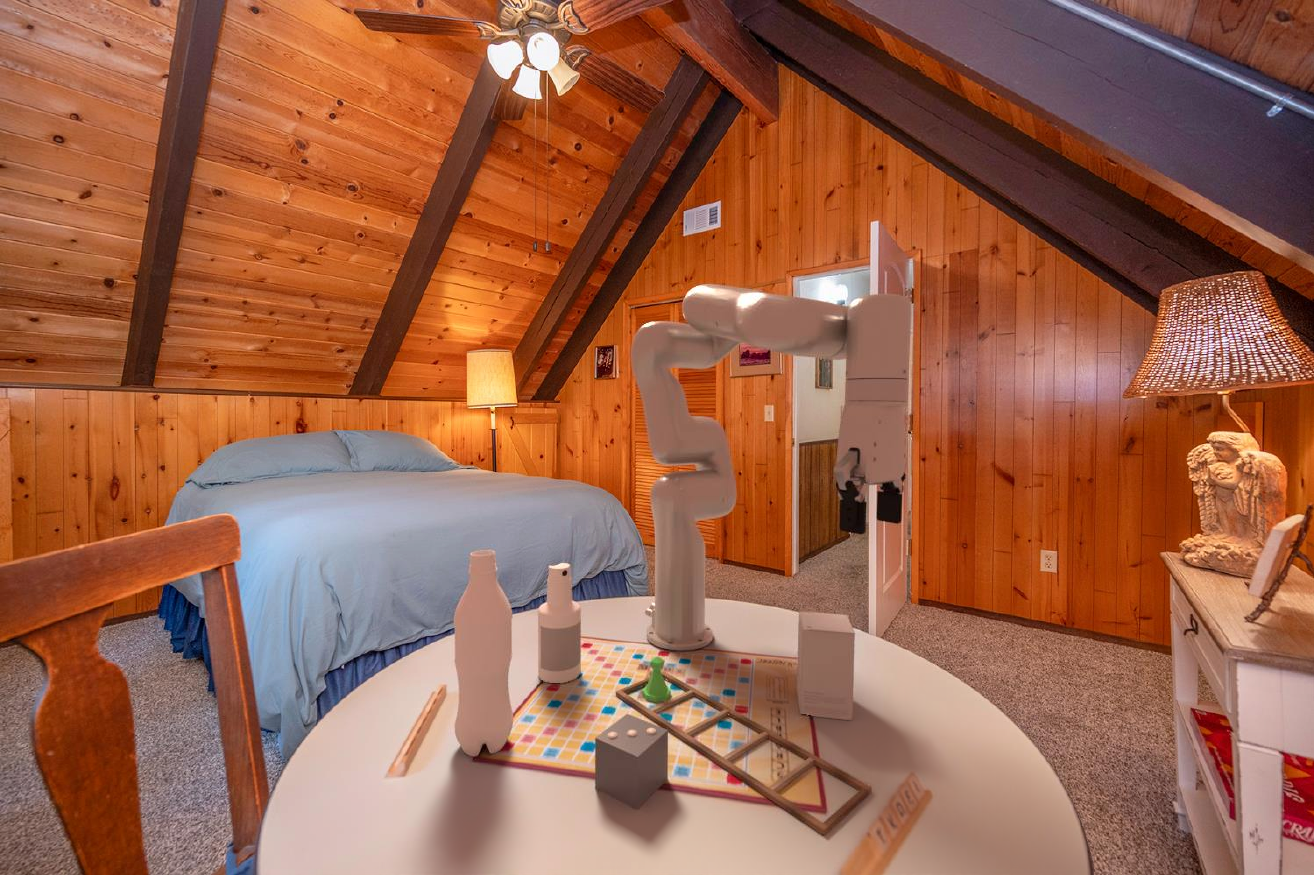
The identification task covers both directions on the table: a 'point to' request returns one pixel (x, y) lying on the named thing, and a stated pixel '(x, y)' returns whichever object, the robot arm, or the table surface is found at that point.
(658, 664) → the game piece
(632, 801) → the die
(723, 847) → the table surface
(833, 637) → the supplement box
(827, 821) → the track board
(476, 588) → the water bottle
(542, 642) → the spray bottle
